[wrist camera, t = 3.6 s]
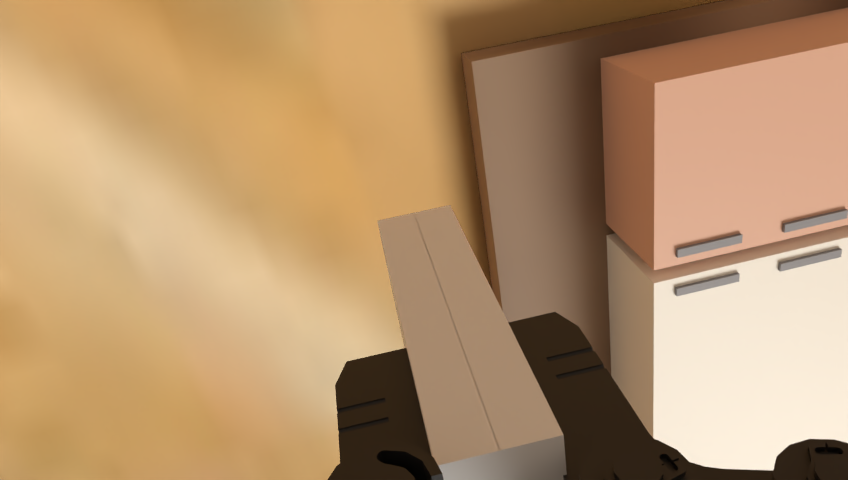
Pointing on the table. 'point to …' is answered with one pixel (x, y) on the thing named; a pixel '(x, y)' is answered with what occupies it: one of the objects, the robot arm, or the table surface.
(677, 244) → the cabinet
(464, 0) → the table surface
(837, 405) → the cream flat block
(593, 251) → the board
